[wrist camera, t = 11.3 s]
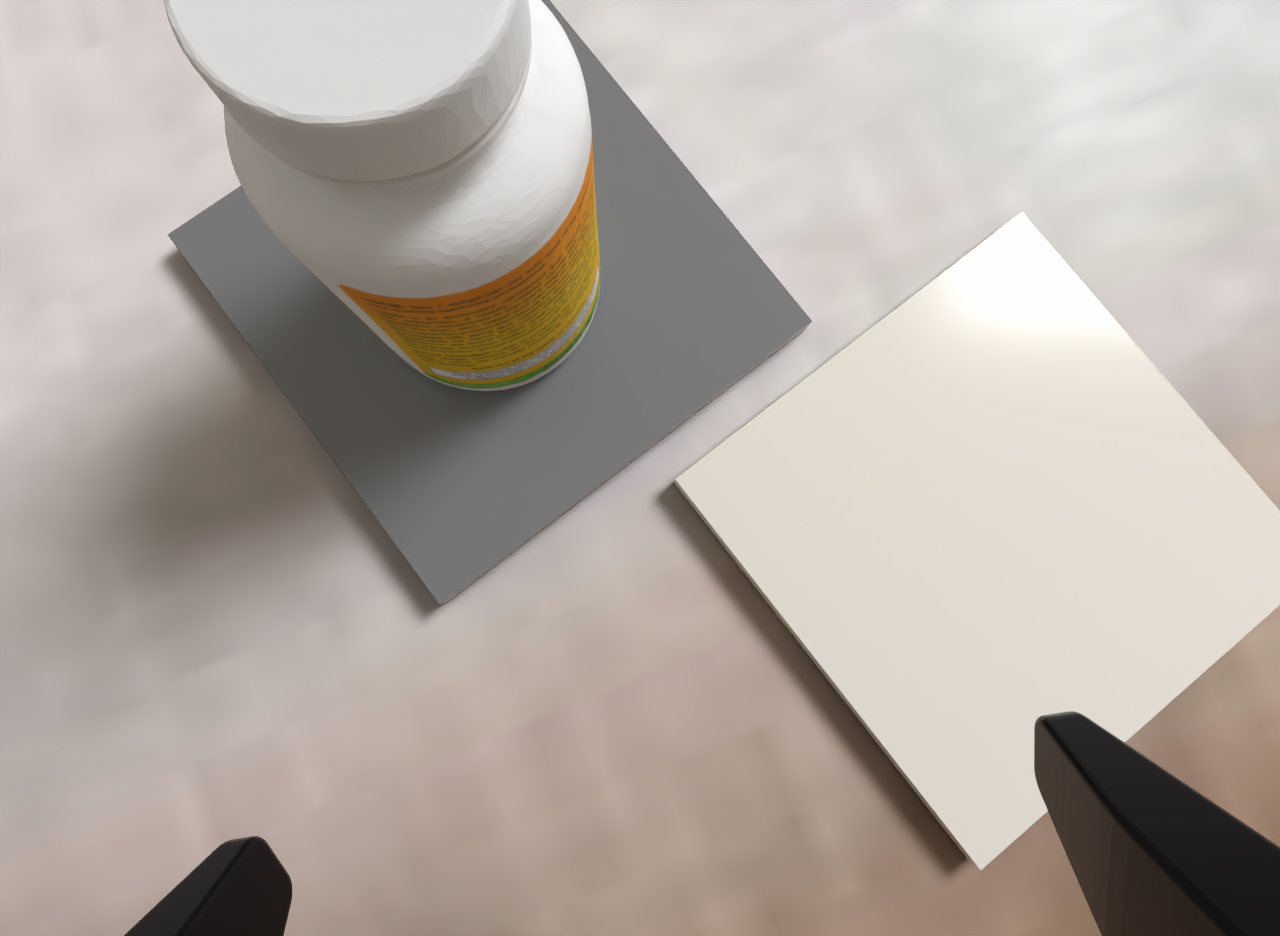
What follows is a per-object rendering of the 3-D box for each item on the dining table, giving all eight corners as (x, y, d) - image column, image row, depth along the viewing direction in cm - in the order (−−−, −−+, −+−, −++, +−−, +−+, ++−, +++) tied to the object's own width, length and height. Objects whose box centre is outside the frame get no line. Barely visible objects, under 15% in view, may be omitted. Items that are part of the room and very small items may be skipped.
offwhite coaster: (968, 859, 17) (980, 870, 17) (673, 482, 18) (674, 478, 17) (1302, 563, 18) (1325, 563, 18) (1009, 222, 19) (1021, 211, 19)
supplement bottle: (646, 266, 18) (679, -76, 8) (508, 441, 17) (374, 286, 8) (470, 138, 18) (308, -334, 9) (328, 306, 18) (-16, -5, 8)
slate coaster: (445, 602, 17) (439, 604, 17) (182, 245, 18) (167, 234, 18) (805, 328, 19) (812, 321, 18) (541, 5, 20) (538, -13, 19)
